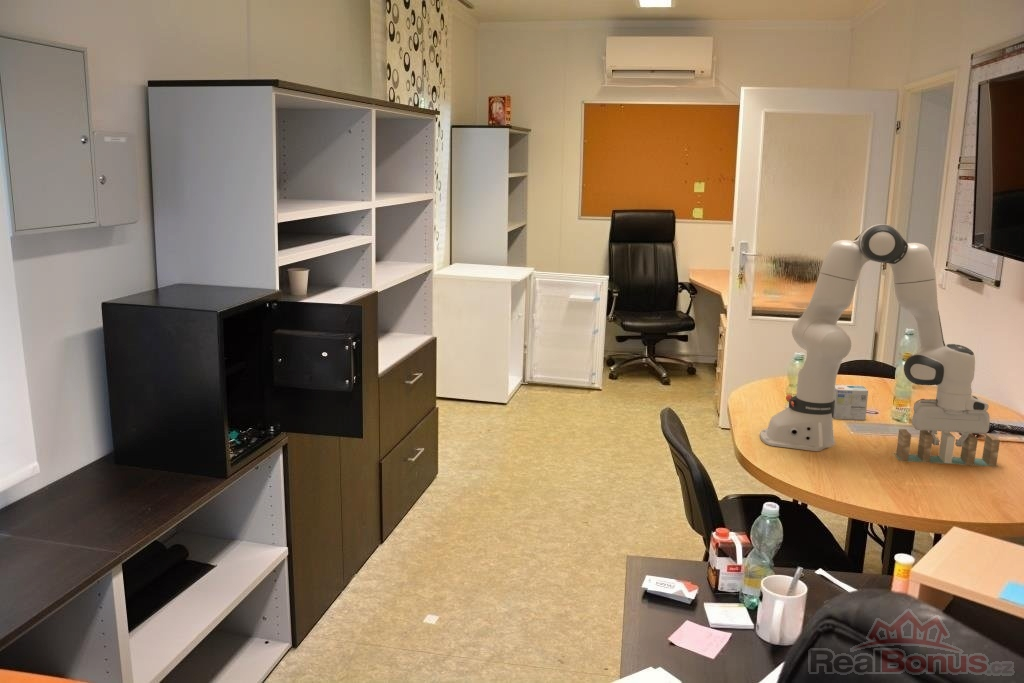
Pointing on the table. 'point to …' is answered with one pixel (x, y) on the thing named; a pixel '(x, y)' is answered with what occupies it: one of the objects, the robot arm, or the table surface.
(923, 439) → the domino
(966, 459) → the domino
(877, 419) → the table surface
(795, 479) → the table surface
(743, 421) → the table surface
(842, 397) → the light bulb box
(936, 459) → the felt runner
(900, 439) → the domino
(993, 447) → the domino
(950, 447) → the domino
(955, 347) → the robot arm
